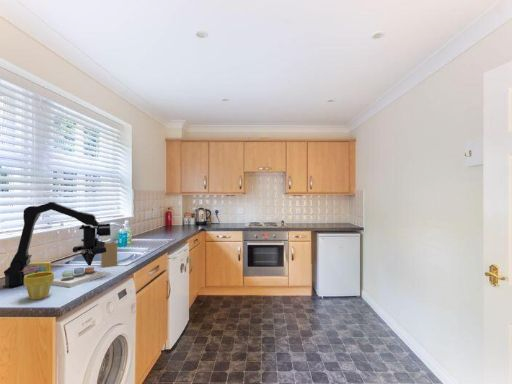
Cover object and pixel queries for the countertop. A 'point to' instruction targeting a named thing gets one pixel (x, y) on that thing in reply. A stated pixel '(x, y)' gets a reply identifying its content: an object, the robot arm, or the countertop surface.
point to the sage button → (67, 273)
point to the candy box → (37, 267)
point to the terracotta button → (89, 269)
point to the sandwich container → (109, 255)
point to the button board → (77, 279)
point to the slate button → (78, 270)
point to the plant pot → (38, 284)
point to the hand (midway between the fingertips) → (89, 265)
